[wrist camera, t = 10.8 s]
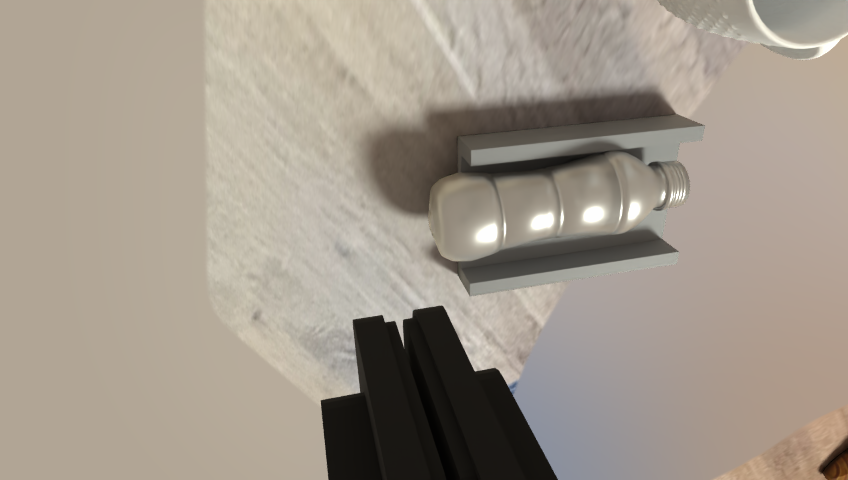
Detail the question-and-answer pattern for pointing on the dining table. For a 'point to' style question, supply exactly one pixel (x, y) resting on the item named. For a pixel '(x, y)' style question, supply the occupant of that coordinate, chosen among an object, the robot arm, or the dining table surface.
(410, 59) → the dining table surface
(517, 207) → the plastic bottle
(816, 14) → the mug
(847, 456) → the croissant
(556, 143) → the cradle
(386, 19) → the dining table surface
